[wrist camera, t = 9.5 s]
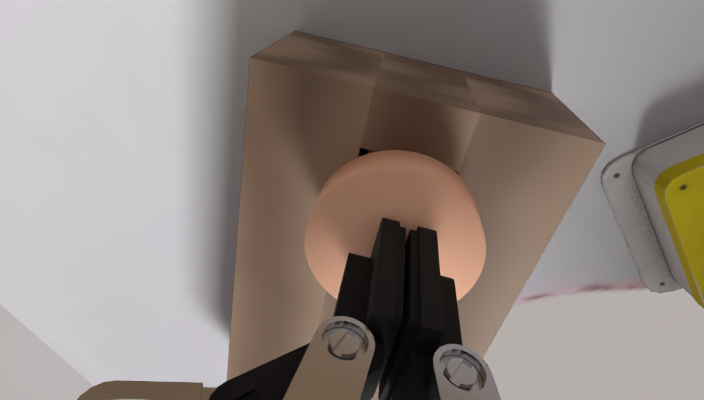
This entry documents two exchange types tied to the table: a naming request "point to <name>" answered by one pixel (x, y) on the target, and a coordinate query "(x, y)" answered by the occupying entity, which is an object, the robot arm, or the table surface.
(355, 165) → the peach round knob
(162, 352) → the table surface
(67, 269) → the table surface
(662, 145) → the emergency button
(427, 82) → the press console
